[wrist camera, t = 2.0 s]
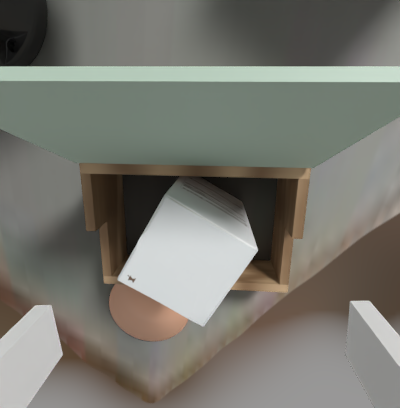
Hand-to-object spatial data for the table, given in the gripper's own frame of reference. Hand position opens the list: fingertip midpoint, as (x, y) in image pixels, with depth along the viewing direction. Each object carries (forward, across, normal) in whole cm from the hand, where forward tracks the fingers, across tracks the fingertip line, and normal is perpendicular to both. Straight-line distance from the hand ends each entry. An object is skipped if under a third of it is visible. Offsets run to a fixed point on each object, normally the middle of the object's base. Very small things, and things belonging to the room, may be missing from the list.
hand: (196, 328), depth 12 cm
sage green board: (+8, -1, +8) cm, 11 cm away
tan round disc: (+25, -10, -16) cm, 31 cm away
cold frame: (+25, -2, -2) cm, 25 cm away
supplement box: (+25, -2, -2) cm, 25 cm away
